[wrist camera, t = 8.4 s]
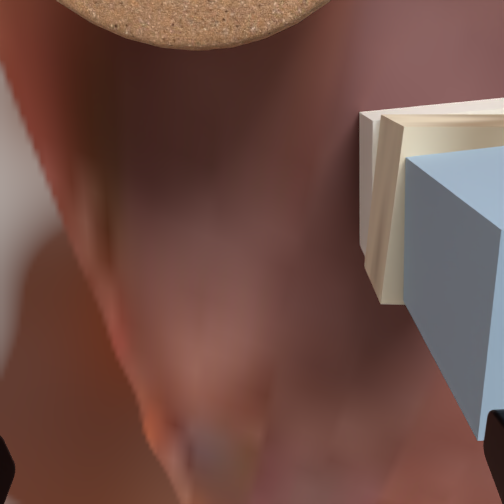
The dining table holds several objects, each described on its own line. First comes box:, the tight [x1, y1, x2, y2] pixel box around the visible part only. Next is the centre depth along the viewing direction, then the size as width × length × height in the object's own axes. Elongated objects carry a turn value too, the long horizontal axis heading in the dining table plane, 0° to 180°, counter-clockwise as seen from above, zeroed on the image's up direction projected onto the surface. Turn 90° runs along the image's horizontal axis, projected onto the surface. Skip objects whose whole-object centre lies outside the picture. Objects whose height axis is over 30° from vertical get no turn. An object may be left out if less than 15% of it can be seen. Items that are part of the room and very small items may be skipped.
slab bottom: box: [359, 98, 504, 256], centre depth 18 cm, size 6×6×3 cm
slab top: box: [364, 114, 504, 305], centre depth 15 cm, size 6×6×3 cm
